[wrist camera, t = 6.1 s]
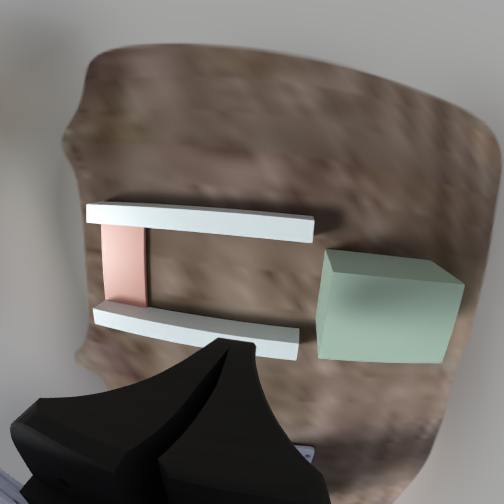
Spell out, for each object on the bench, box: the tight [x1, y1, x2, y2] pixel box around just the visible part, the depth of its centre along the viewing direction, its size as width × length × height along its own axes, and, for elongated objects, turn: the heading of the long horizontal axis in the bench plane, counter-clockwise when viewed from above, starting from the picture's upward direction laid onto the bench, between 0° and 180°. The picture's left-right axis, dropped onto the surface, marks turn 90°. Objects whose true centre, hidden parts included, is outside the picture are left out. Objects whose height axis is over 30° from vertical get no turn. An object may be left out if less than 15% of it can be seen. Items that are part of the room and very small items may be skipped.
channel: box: [87, 201, 315, 360], centre depth 19 cm, size 8×14×2 cm, turn 86°
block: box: [315, 249, 465, 363], centre depth 16 cm, size 4×7×5 cm, turn 86°
